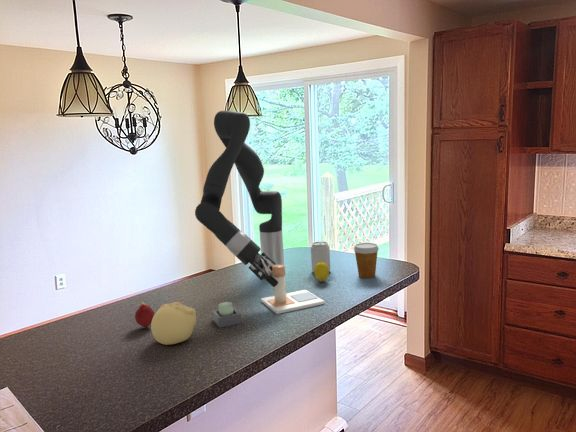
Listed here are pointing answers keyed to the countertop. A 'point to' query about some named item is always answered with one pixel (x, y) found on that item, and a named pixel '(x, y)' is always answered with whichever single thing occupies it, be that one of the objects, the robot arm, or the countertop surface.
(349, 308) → the countertop surface
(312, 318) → the countertop surface
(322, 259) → the can
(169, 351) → the countertop surface
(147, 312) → the onion
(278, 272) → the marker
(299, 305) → the picture board
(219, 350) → the countertop surface
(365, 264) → the disposable coffee cup
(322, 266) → the lemon
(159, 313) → the pale yellow lumpy ball
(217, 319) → the button housing
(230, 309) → the button
